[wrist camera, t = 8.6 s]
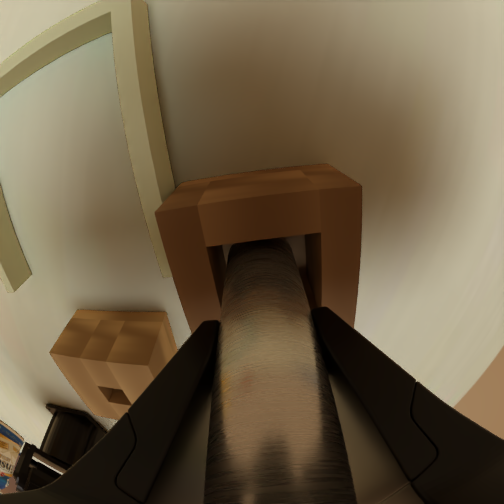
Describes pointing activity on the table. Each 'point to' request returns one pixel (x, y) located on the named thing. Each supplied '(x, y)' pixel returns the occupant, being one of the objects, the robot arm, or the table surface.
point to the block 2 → (265, 233)
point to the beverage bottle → (8, 452)
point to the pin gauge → (272, 391)
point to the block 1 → (113, 356)
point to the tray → (131, 101)
